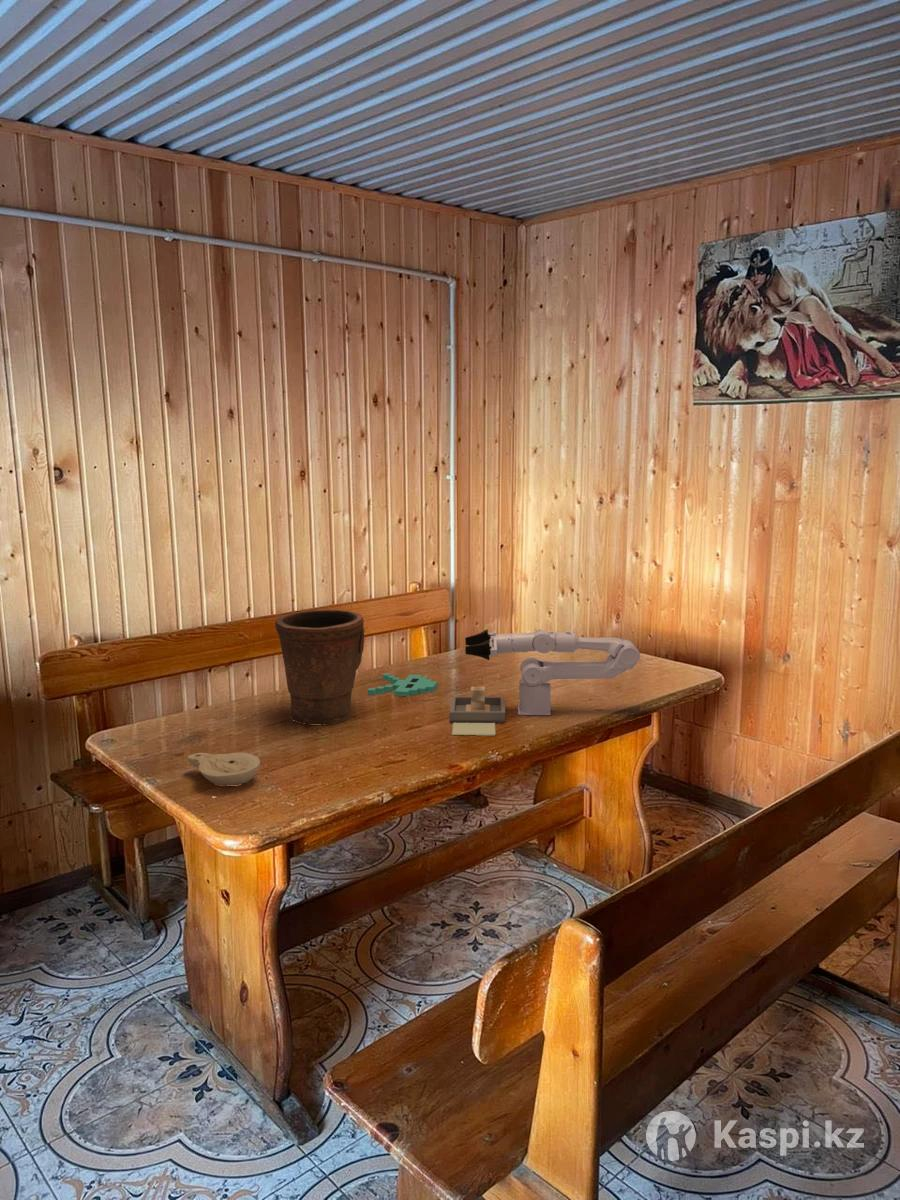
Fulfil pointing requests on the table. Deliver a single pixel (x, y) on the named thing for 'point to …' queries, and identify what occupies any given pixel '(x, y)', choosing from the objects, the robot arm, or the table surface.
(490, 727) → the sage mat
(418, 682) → the alien figure
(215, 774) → the oil lamp
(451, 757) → the table surface
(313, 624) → the clay pot
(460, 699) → the box
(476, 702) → the brown block
